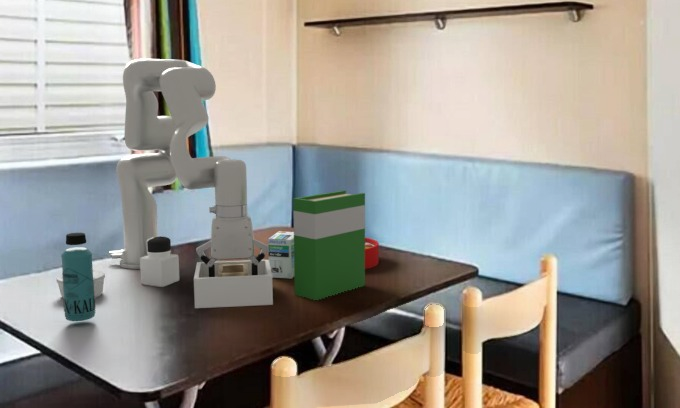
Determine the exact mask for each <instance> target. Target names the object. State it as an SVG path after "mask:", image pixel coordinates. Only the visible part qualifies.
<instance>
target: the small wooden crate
mask: <svg viewBox="0 0 680 408" xmlns="http://www.w3.org/2000/svg"><path fill="white" fill-rule="evenodd" d="M227 276H248V267H247V264H227V265H219V268H218V277H227Z"/></svg>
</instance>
